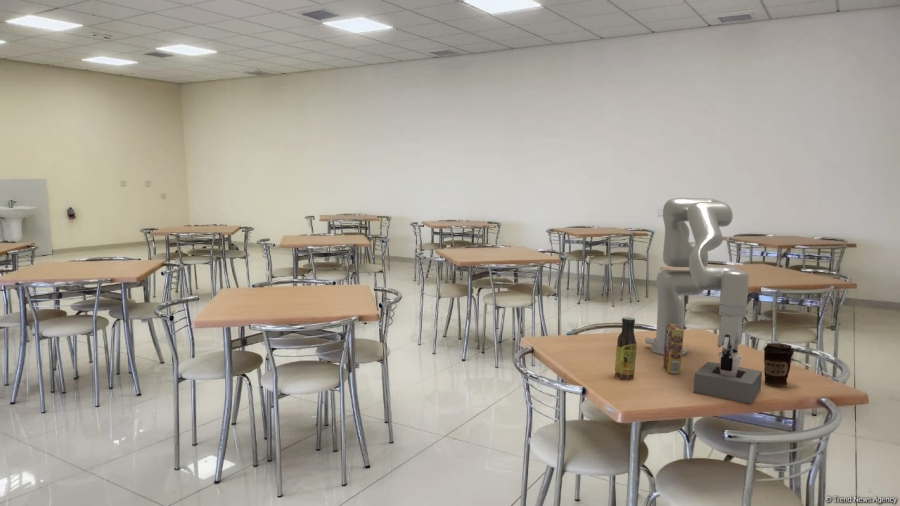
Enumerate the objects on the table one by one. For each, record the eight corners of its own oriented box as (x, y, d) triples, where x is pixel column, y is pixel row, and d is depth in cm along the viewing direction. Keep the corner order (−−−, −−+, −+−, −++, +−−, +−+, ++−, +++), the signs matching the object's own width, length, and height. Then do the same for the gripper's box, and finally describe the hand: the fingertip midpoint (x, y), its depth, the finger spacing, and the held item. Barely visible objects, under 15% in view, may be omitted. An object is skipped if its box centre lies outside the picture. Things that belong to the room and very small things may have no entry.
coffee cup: (790, 390, 186) (793, 349, 185) (760, 385, 190) (763, 345, 189) (791, 383, 193) (794, 343, 192) (762, 378, 198) (765, 340, 196)
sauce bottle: (624, 381, 193) (627, 321, 191) (610, 375, 198) (613, 317, 196) (639, 378, 196) (642, 319, 194) (625, 373, 201) (628, 315, 199)
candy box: (681, 374, 201) (684, 330, 199) (668, 373, 201) (670, 329, 200) (675, 366, 210) (677, 324, 208) (662, 366, 210) (665, 323, 208)
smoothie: (741, 389, 181) (744, 344, 179) (718, 387, 182) (721, 342, 181) (735, 382, 187) (738, 338, 186) (714, 380, 189) (716, 337, 187)
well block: (693, 392, 183) (694, 373, 183) (706, 379, 196) (707, 361, 195) (750, 404, 174) (752, 384, 173) (760, 389, 187) (761, 370, 186)
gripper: (725, 304, 191) (722, 359, 193) (712, 313, 177) (708, 371, 179) (751, 307, 187) (747, 363, 189) (740, 317, 173) (735, 377, 175)
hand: (728, 367), depth 184 cm, fingers closed on smoothie, 6 cm apart
